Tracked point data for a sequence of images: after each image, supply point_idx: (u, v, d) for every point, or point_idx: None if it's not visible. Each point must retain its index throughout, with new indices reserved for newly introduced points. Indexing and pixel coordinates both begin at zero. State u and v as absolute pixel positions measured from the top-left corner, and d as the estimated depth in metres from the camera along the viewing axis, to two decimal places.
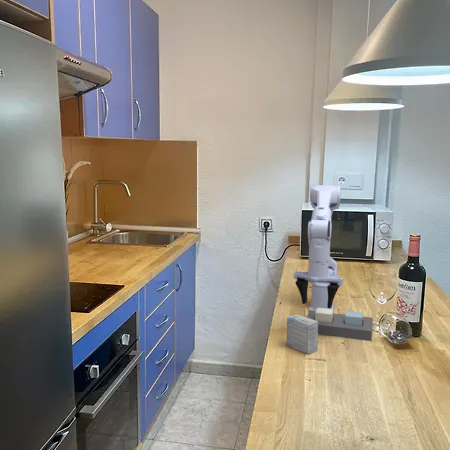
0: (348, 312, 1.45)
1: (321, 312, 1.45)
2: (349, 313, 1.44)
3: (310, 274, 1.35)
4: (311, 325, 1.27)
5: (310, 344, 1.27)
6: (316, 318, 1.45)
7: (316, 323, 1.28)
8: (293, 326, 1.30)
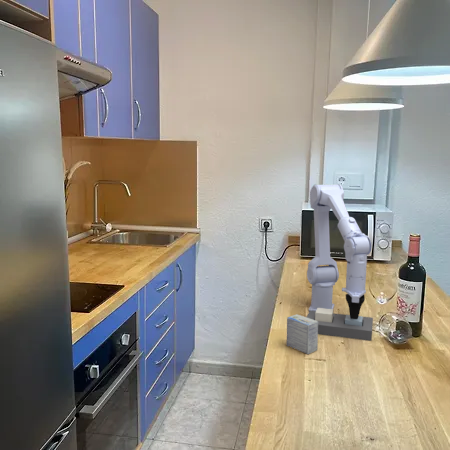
0: (348, 316, 1.45)
1: (321, 312, 1.45)
2: (349, 317, 1.44)
3: None
4: (311, 325, 1.27)
5: (310, 344, 1.27)
6: (316, 318, 1.45)
7: (316, 323, 1.28)
8: (293, 326, 1.30)
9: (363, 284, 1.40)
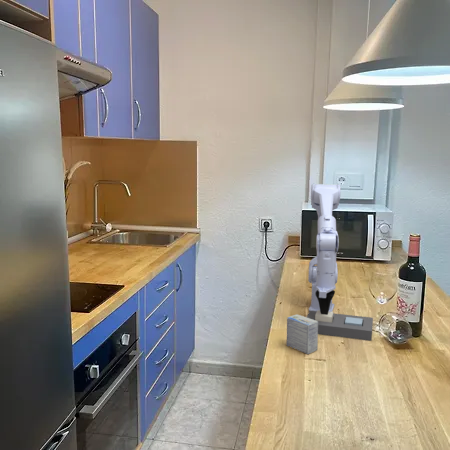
0: (348, 318, 1.45)
1: (321, 315, 1.45)
2: (349, 319, 1.44)
3: None
4: (311, 325, 1.27)
5: (310, 344, 1.27)
6: None
7: (316, 323, 1.28)
8: (293, 326, 1.30)
9: (332, 280, 1.42)
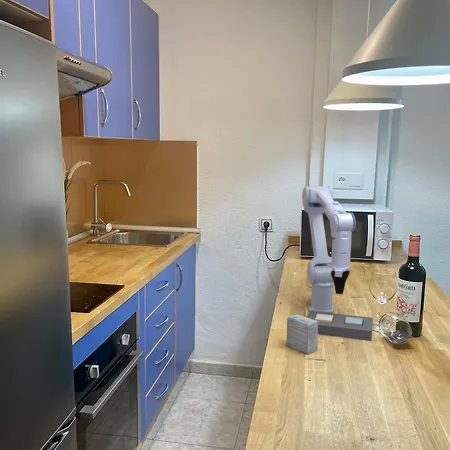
0: (348, 318, 1.45)
1: (321, 318, 1.45)
2: (349, 319, 1.44)
3: None
4: (311, 325, 1.27)
5: (310, 344, 1.27)
6: None
7: (316, 323, 1.28)
8: (293, 326, 1.30)
9: (347, 260, 1.44)
